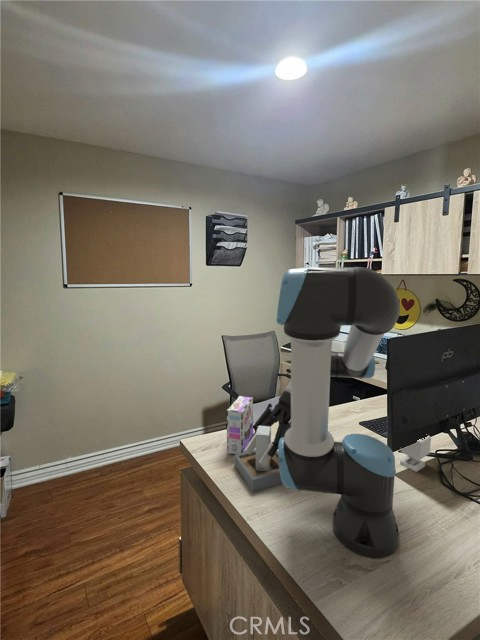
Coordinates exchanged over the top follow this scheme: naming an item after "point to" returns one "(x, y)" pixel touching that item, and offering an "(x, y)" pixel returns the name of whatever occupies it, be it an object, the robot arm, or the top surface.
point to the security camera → (416, 454)
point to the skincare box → (262, 445)
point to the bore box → (257, 471)
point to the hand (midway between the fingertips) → (254, 458)
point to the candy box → (239, 425)
